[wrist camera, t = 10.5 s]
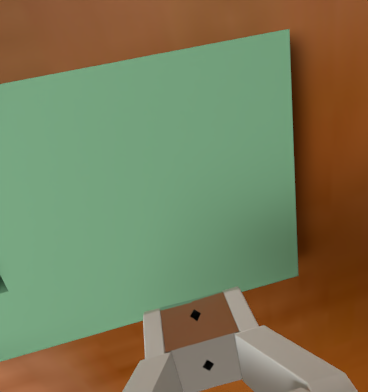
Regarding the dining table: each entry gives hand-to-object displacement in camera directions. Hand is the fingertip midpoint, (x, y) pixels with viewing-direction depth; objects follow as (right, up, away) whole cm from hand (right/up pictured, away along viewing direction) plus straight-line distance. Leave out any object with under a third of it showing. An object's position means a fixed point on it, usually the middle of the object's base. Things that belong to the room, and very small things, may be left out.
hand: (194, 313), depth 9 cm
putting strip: (-7, +3, +10) cm, 13 cm away
